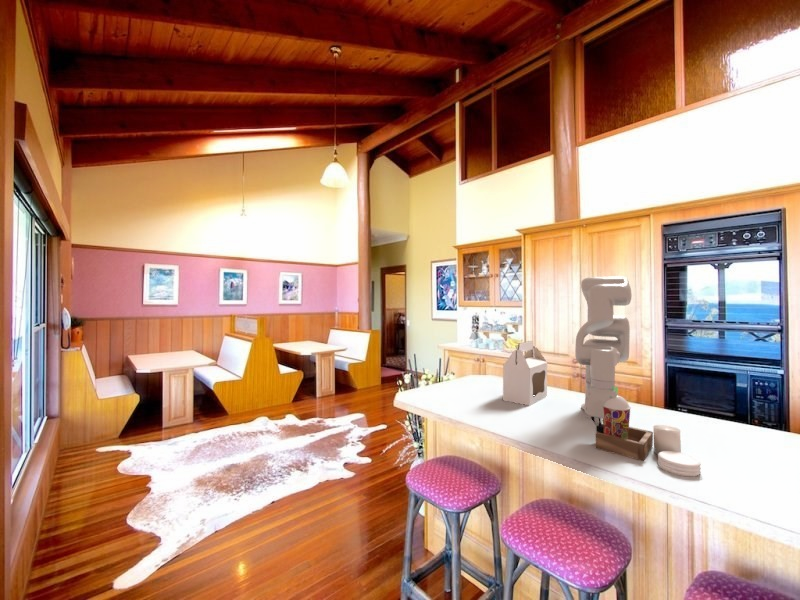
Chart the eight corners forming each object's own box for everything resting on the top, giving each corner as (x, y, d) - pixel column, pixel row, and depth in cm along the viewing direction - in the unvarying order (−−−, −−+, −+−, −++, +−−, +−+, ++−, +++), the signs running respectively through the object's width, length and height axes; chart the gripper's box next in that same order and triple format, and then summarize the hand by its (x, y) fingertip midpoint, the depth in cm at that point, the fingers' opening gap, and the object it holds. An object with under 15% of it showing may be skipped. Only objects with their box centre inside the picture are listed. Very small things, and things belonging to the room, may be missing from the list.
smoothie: (628, 453, 118) (629, 391, 118) (599, 446, 123) (600, 387, 123) (631, 445, 125) (632, 386, 125) (603, 439, 130) (604, 382, 130)
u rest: (608, 435, 133) (608, 422, 133) (652, 446, 124) (652, 431, 124) (595, 448, 122) (595, 433, 122) (643, 460, 113) (643, 444, 113)
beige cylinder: (654, 447, 123) (653, 423, 123) (680, 452, 119) (679, 427, 119) (654, 454, 117) (653, 429, 117) (681, 459, 113) (680, 433, 113)
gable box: (521, 391, 194) (522, 338, 193) (547, 396, 185) (547, 341, 184) (502, 400, 177) (503, 342, 177) (529, 406, 168) (529, 345, 168)
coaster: (708, 479, 102) (709, 466, 102) (669, 475, 104) (669, 463, 104) (687, 463, 112) (687, 451, 112) (651, 460, 114) (651, 449, 114)
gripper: (575, 382, 129) (575, 434, 129) (624, 390, 119) (623, 446, 119) (582, 379, 135) (582, 429, 135) (629, 386, 125) (629, 440, 125)
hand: (601, 437), depth 127 cm, fingers closed
